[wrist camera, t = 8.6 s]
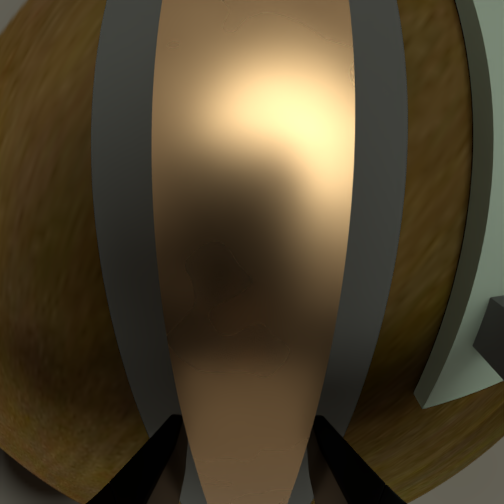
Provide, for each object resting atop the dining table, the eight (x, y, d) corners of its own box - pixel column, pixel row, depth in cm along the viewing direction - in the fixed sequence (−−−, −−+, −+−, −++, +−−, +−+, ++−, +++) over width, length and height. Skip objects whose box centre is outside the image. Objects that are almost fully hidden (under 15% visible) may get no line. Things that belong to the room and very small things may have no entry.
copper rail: (268, 510, 13) (270, 545, 10) (224, 510, 13) (222, 545, 10) (310, -2, 5) (338, -64, 2) (198, -5, 5) (176, -68, 2)
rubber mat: (303, 508, 14) (304, 514, 13) (187, 508, 14) (186, 513, 13) (386, -10, 5) (393, -17, 5) (118, -15, 5) (112, -22, 4)
